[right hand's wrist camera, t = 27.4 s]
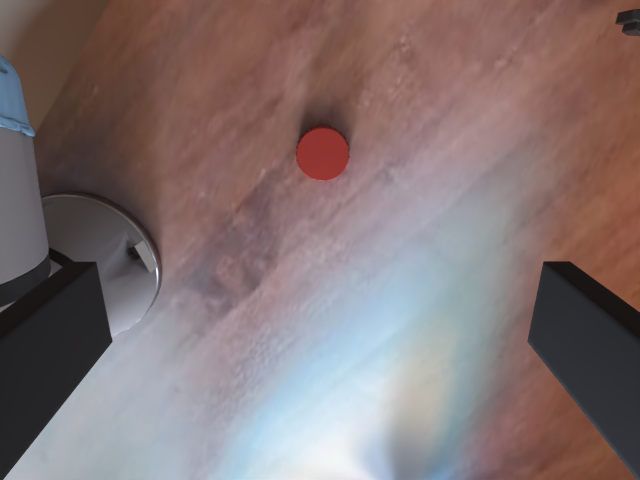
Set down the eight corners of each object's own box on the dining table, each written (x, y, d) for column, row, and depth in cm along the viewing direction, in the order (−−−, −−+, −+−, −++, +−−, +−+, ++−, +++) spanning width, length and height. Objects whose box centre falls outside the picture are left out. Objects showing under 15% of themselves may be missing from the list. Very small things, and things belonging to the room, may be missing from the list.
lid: (288, 164, 40) (286, 167, 38) (310, 115, 38) (309, 117, 37) (334, 186, 41) (334, 190, 39) (357, 139, 39) (359, 142, 38)
